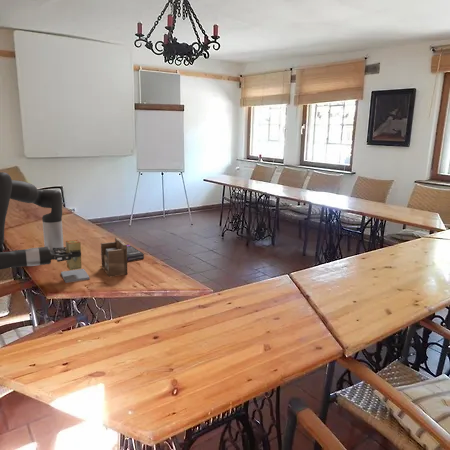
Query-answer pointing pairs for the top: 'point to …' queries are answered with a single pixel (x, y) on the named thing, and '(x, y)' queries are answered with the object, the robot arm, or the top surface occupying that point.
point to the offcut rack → (114, 257)
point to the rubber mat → (75, 275)
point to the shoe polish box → (75, 261)
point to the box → (133, 254)
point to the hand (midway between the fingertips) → (79, 251)
